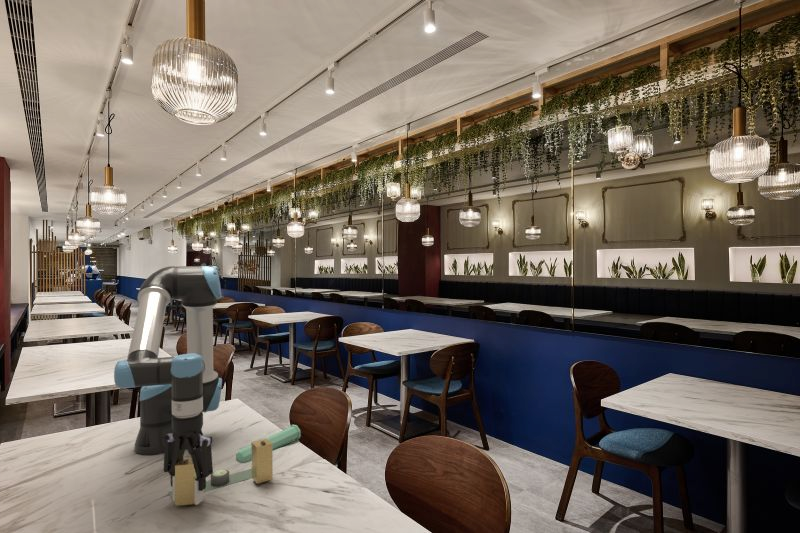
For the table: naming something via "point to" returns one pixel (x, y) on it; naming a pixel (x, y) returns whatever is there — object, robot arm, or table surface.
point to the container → (276, 440)
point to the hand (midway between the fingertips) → (188, 499)
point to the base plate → (233, 480)
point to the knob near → (184, 482)
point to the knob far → (262, 461)
